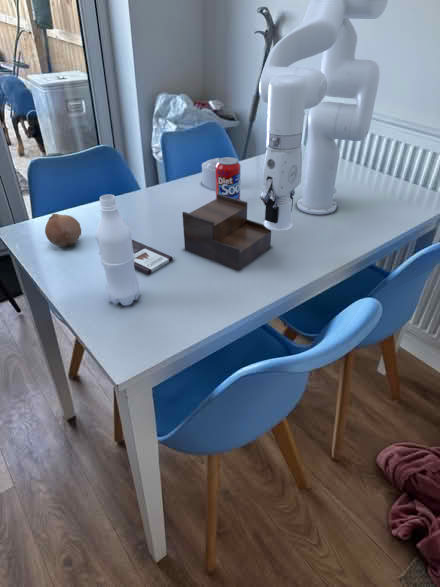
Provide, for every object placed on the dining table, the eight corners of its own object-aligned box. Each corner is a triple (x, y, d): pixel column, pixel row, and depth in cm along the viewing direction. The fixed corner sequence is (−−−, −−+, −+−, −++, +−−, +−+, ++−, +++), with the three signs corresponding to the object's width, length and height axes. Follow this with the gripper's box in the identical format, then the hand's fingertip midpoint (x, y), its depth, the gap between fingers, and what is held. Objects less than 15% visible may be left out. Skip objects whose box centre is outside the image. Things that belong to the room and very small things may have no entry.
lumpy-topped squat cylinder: (220, 176, 161) (220, 153, 156) (243, 186, 153) (243, 162, 148) (198, 183, 156) (197, 159, 151) (220, 193, 148) (220, 169, 143)
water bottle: (111, 291, 101) (91, 190, 86) (141, 289, 101) (127, 189, 87) (107, 309, 95) (85, 205, 80) (139, 307, 95) (123, 203, 81)
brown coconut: (58, 251, 122) (39, 219, 119) (88, 237, 124) (70, 205, 121) (54, 256, 114) (35, 222, 110) (87, 241, 115) (68, 206, 112)
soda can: (227, 198, 144) (227, 154, 136) (244, 205, 140) (245, 160, 131) (211, 205, 140) (210, 160, 131) (228, 212, 135) (228, 166, 127)
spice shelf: (218, 229, 126) (218, 193, 119) (270, 247, 117) (272, 209, 110) (184, 250, 116) (182, 212, 110) (238, 271, 107) (238, 231, 101)
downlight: (294, 233, 100) (298, 193, 94) (264, 233, 100) (266, 193, 94) (290, 217, 106) (293, 179, 100) (262, 217, 106) (264, 179, 100)
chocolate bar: (126, 237, 120) (172, 256, 111) (127, 240, 121) (172, 260, 112) (101, 249, 115) (147, 271, 105) (101, 252, 115) (147, 274, 106)
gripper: (277, 154, 83) (273, 235, 94) (318, 132, 94) (309, 207, 105) (246, 147, 87) (245, 225, 98) (288, 127, 98) (283, 200, 109)
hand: (278, 215), depth 101 cm, fingers closed on downlight, 5 cm apart
